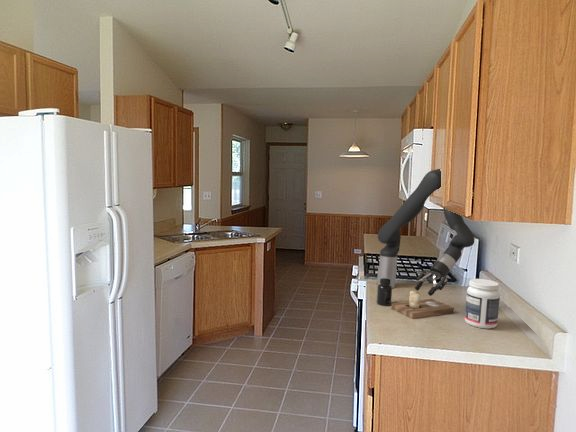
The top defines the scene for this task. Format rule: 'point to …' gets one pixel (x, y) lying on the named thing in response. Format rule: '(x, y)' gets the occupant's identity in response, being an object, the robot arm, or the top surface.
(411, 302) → the birch peg
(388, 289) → the supplement bottle
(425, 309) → the walnut board
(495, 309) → the supplement tub
